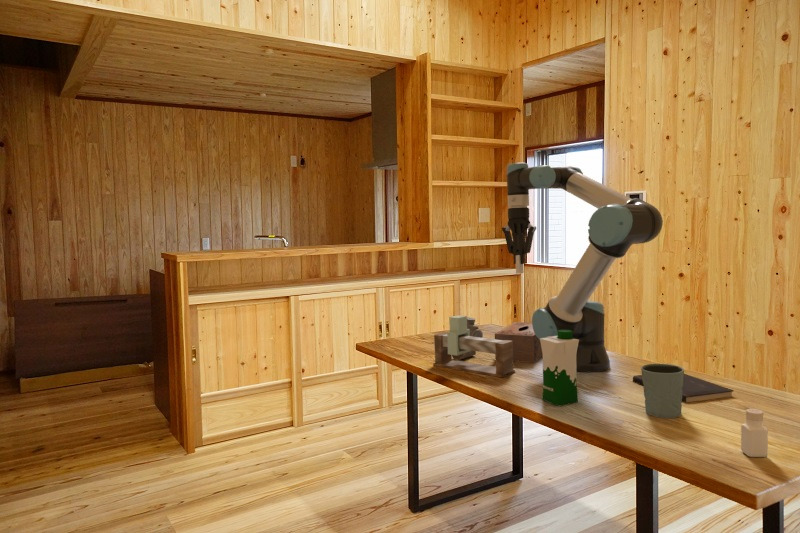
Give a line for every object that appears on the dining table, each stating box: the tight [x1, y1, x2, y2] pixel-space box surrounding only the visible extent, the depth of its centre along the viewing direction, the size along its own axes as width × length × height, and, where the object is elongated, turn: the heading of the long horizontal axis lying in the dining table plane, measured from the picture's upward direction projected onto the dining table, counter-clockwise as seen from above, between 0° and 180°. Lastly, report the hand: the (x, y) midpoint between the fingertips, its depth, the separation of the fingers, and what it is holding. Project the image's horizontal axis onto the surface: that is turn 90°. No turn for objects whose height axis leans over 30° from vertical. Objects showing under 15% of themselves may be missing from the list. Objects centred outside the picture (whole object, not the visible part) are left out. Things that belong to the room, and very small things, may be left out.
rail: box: [433, 331, 516, 378], centre depth 205 cm, size 29×8×11 cm, turn 48°
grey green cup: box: [640, 363, 685, 419], centre depth 153 cm, size 10×10×12 cm
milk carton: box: [540, 330, 579, 407], centre depth 166 cm, size 9×9×20 cm
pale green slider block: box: [446, 314, 470, 356], centre depth 209 cm, size 4×8×13 cm, turn 138°
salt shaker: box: [740, 408, 769, 458], centre depth 125 cm, size 4×4×10 cm
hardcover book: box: [632, 373, 734, 403], centre depth 174 cm, size 16×23×2 cm
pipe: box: [452, 350, 477, 361], centre depth 226 cm, size 6×17×10 cm
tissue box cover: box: [494, 321, 543, 363], centre depth 225 cm, size 26×14×10 cm, turn 152°
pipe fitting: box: [467, 316, 484, 338], centre depth 252 cm, size 12×8×10 cm
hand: (519, 273), depth 210 cm, fingers closed
